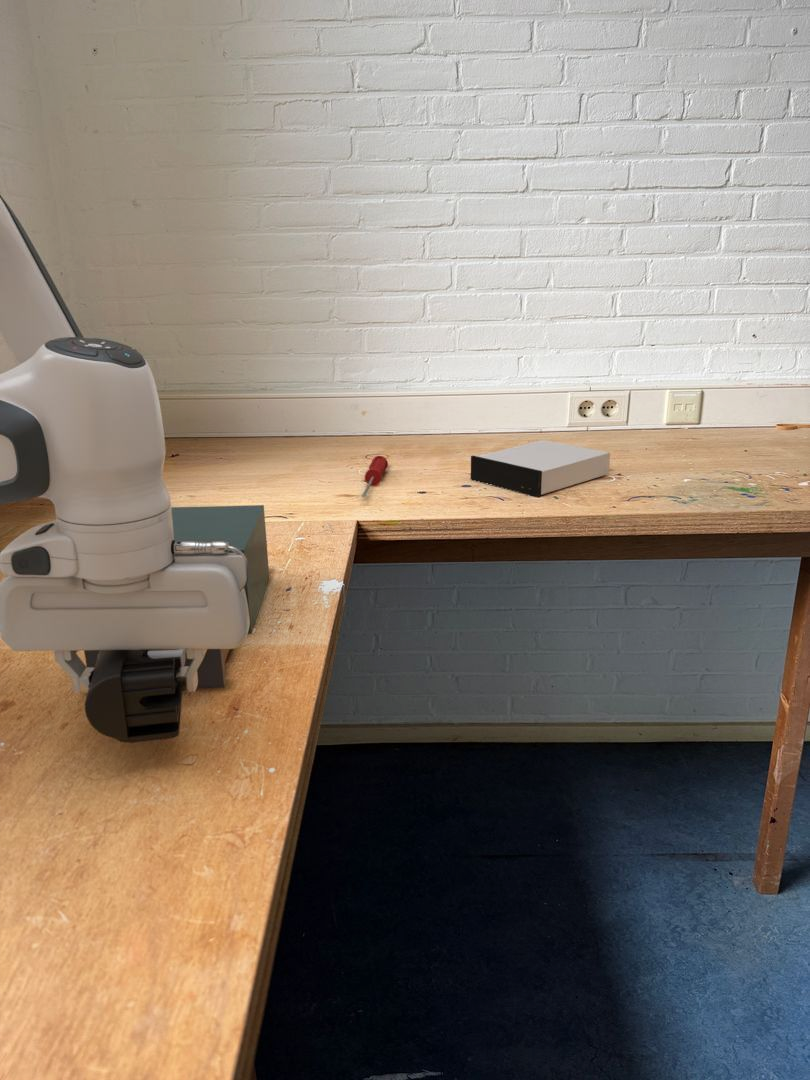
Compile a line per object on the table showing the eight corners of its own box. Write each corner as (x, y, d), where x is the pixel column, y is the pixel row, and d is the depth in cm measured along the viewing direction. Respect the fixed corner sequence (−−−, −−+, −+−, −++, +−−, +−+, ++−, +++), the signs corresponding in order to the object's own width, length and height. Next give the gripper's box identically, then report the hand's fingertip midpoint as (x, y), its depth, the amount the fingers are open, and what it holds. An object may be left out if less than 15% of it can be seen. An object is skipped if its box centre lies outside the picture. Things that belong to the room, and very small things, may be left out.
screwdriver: (354, 505, 145) (353, 487, 144) (372, 471, 169) (371, 454, 168) (373, 506, 145) (372, 487, 144) (388, 471, 168) (388, 454, 167)
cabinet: (251, 633, 96) (244, 549, 93) (127, 637, 96) (115, 553, 92) (269, 577, 113) (263, 505, 109) (164, 580, 113) (155, 507, 109)
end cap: (105, 690, 75) (96, 625, 73) (183, 682, 76) (177, 618, 74) (89, 751, 66) (79, 679, 64) (178, 741, 67) (171, 670, 65)
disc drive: (470, 479, 161) (470, 455, 159) (541, 460, 175) (542, 438, 173) (538, 497, 148) (539, 471, 147) (609, 475, 162) (611, 451, 161)
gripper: (251, 528, 69) (260, 670, 74) (10, 530, 68) (34, 673, 73) (240, 554, 63) (250, 706, 68) (-24, 556, 62) (4, 710, 67)
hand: (136, 689), depth 70 cm, fingers closed on end cap, 7 cm apart
